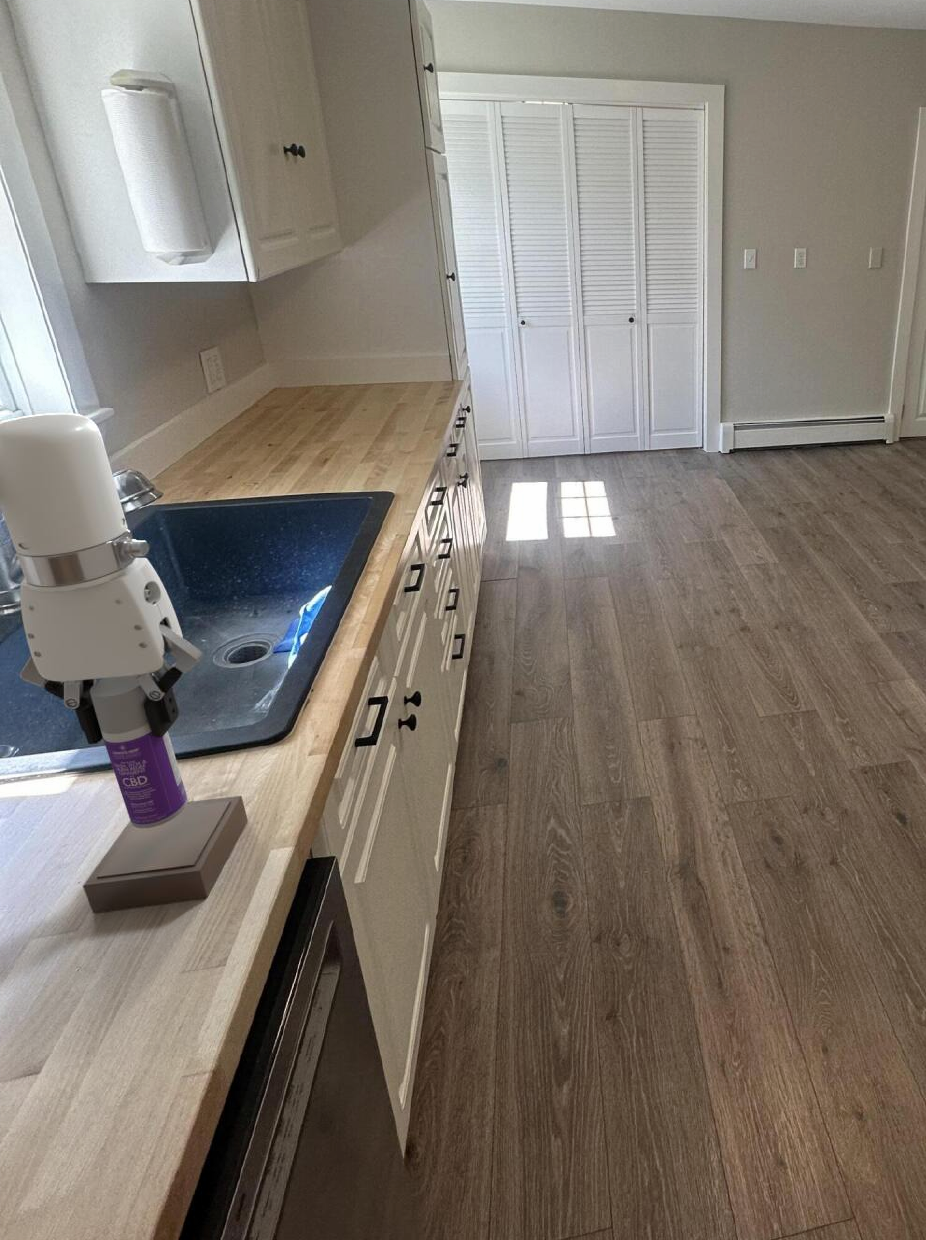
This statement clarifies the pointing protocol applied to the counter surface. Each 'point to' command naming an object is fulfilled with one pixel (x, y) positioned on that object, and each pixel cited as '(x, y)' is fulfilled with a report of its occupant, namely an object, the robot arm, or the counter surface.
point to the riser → (168, 858)
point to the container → (138, 753)
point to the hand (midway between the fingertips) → (134, 729)
